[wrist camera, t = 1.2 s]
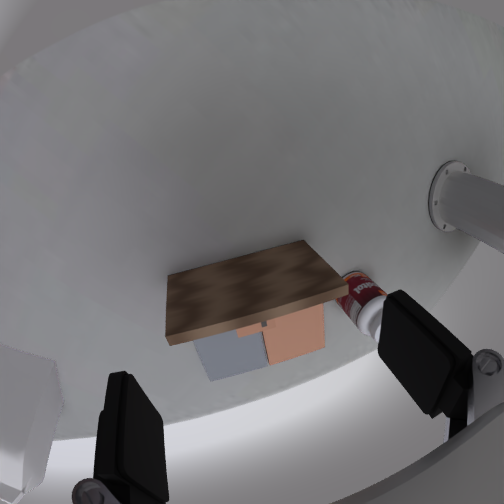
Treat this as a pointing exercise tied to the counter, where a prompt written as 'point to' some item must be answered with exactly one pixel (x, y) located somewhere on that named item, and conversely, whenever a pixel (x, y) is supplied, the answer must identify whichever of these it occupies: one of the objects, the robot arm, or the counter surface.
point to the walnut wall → (248, 291)
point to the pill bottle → (363, 304)
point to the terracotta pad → (295, 334)
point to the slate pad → (230, 354)
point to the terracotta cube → (256, 328)
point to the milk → (26, 420)
